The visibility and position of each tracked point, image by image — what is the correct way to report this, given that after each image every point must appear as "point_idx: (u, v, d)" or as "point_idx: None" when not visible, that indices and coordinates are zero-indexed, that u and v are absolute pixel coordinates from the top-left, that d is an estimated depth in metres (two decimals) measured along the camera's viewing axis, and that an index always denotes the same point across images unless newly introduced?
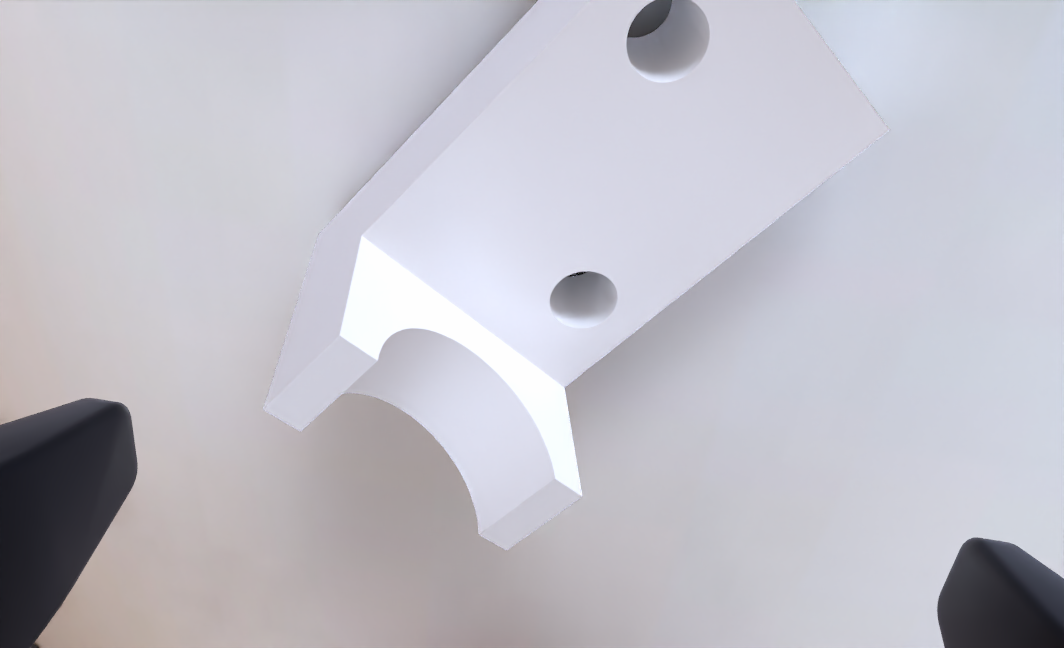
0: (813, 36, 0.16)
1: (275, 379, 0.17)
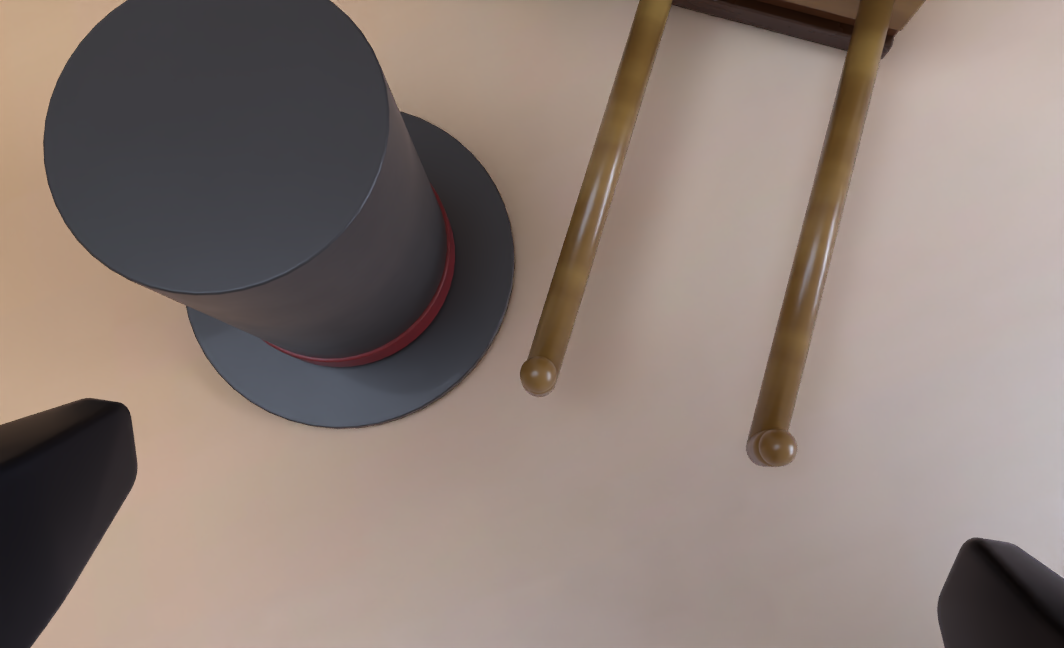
0: None
1: None
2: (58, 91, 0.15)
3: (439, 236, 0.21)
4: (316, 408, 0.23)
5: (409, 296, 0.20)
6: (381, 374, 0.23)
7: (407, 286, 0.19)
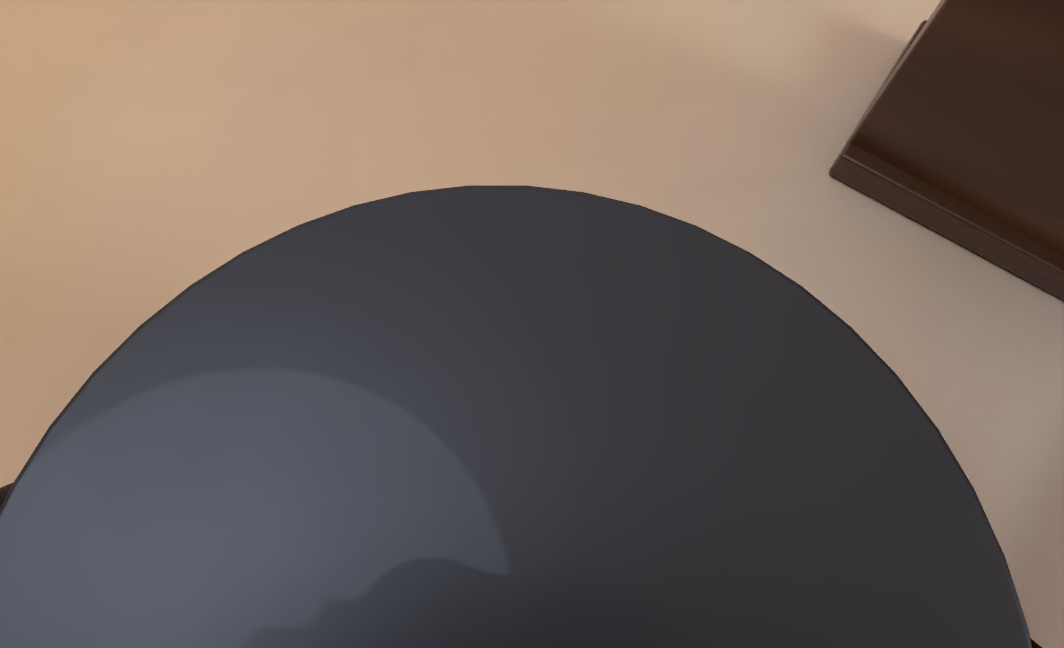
0: None
1: None
2: (80, 409, 0.05)
3: None
4: None
5: None
6: None
7: None
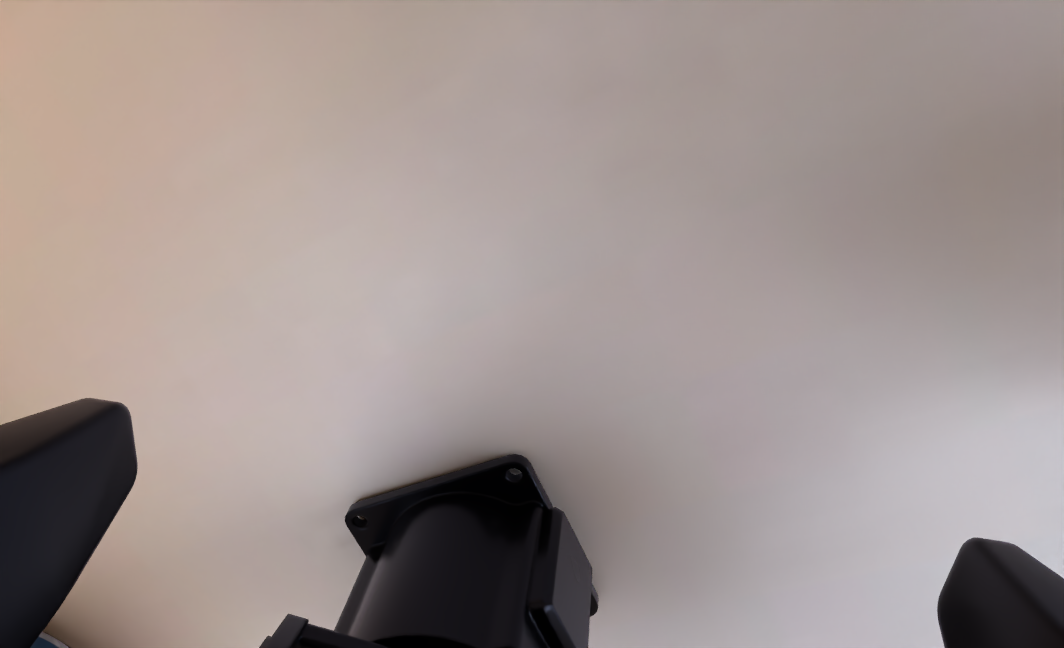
0: None
1: None
2: None
3: None
4: None
5: None
6: None
7: None
